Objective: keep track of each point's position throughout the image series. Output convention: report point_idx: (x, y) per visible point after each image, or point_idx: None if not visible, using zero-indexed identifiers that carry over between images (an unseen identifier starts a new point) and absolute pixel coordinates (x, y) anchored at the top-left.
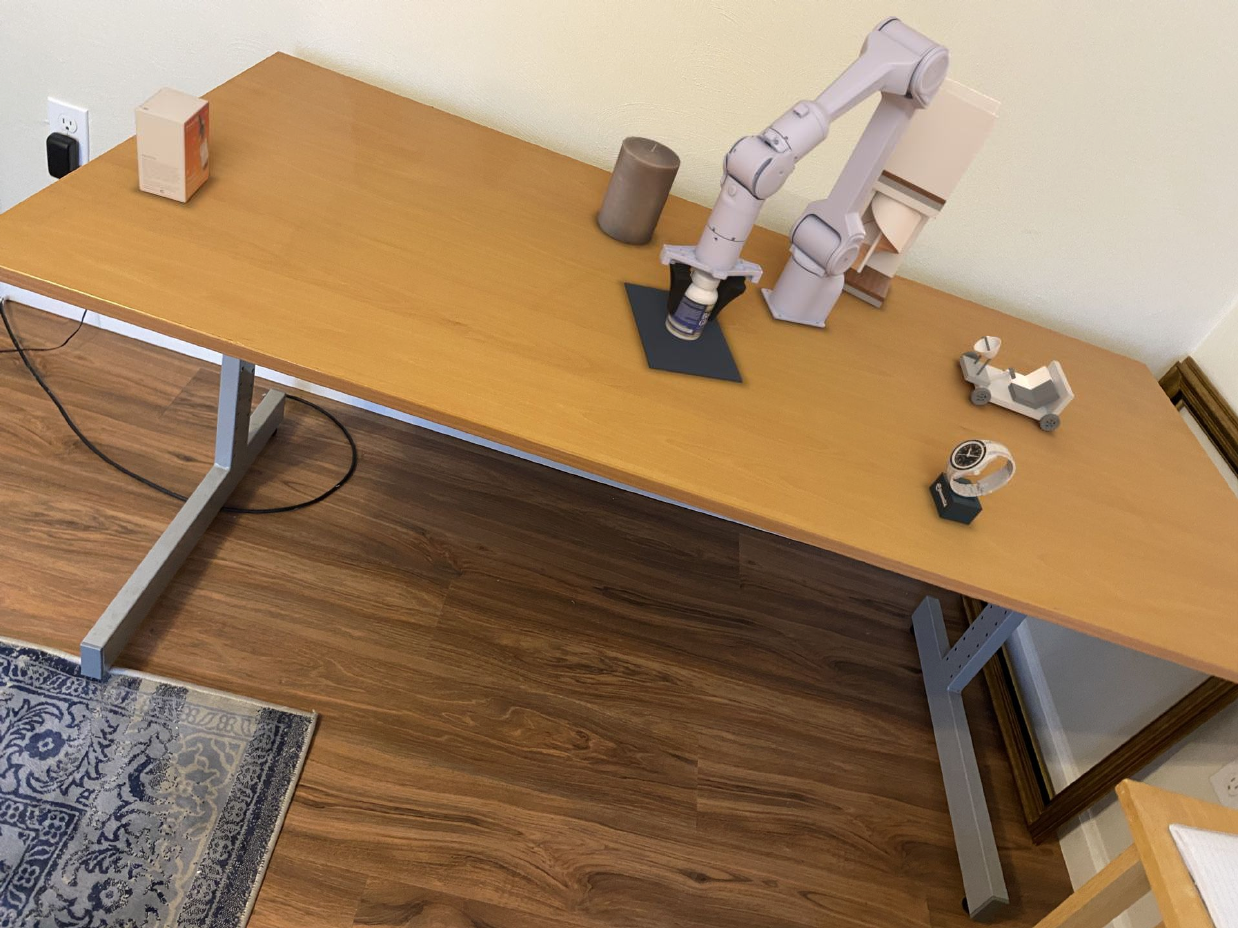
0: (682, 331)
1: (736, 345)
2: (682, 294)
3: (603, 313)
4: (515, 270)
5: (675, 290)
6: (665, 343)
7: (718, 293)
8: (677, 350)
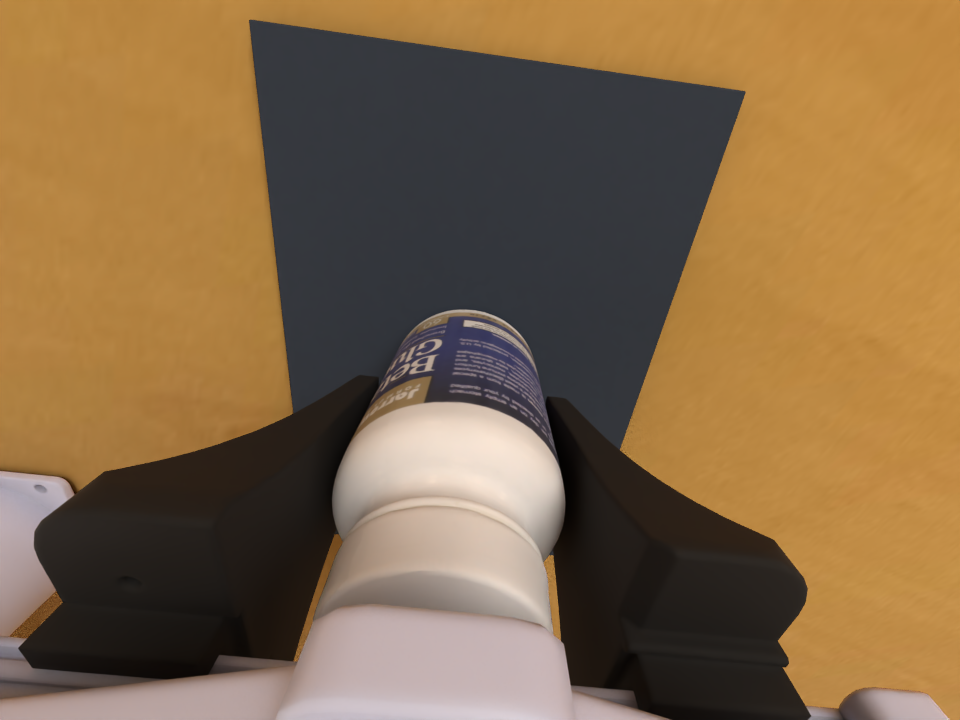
0: (503, 328)
1: (240, 319)
2: (596, 462)
3: (737, 423)
4: (910, 558)
5: (660, 481)
6: (577, 280)
7: (323, 501)
8: (539, 238)
